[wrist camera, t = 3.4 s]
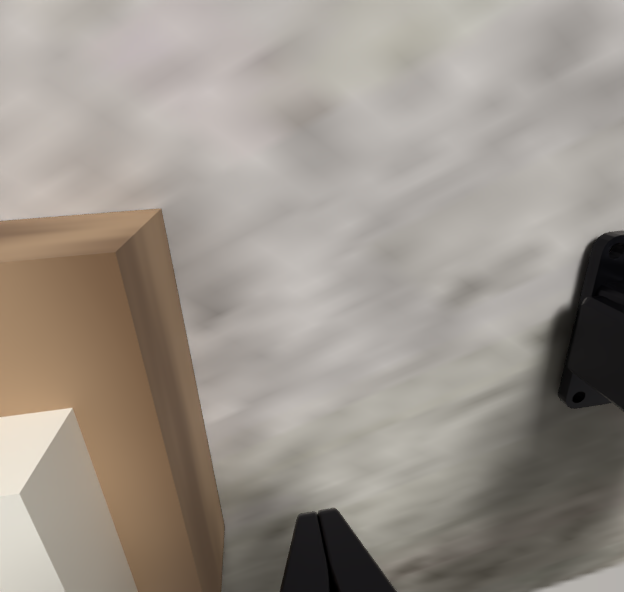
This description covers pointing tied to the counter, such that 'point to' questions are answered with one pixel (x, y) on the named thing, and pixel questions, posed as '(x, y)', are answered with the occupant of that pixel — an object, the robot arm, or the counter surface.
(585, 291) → the robot arm
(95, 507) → the cream rectangular block
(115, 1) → the counter surface
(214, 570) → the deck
